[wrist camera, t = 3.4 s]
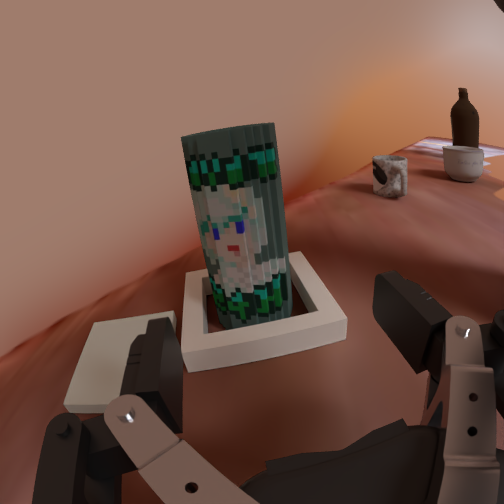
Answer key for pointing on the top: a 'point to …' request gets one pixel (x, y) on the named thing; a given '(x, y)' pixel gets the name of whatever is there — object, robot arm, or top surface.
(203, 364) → the well rim
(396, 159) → the mug
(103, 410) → the white rectangular plate
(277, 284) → the can
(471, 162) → the teacup
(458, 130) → the olive oil
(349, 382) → the top surface
